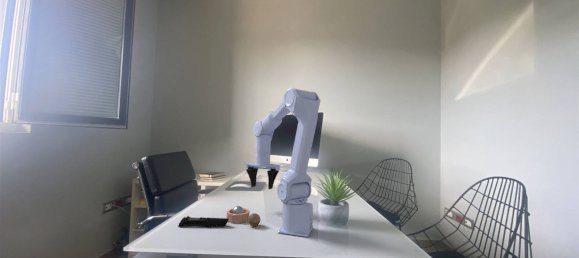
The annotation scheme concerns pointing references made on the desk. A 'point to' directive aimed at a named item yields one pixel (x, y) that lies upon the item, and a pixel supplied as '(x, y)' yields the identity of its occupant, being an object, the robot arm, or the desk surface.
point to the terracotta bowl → (237, 216)
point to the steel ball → (237, 210)
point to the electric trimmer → (203, 222)
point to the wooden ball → (254, 220)
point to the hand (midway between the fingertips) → (261, 187)
